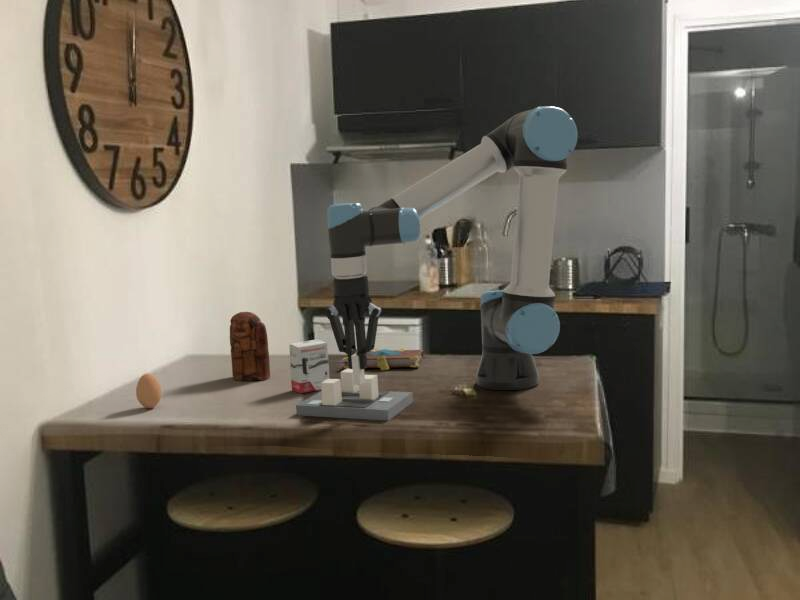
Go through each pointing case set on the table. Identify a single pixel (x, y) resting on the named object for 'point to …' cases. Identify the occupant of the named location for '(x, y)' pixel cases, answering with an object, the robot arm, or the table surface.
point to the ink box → (308, 365)
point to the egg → (148, 391)
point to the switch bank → (357, 406)
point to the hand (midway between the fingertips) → (359, 383)
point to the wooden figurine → (249, 348)
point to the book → (391, 358)
